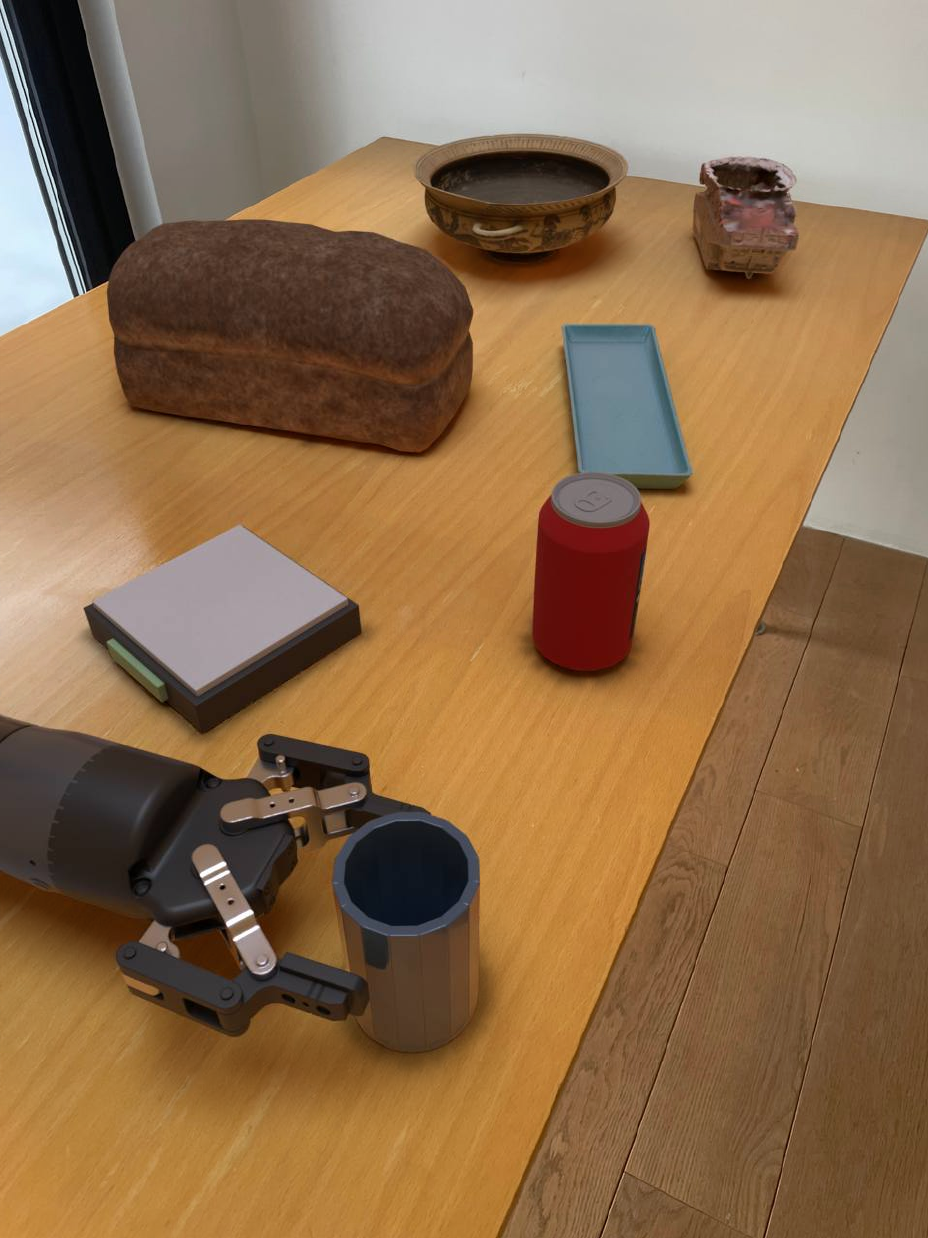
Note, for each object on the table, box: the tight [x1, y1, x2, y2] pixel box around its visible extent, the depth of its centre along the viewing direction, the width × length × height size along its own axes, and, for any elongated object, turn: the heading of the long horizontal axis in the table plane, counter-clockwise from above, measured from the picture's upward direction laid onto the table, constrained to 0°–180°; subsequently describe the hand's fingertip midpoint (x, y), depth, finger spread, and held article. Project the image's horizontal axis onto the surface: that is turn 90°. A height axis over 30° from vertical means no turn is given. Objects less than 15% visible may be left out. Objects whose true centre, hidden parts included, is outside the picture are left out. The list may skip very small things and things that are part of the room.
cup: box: [331, 812, 481, 1054], centre depth 46 cm, size 6×6×10 cm
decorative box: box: [692, 155, 831, 280], centre depth 113 cm, size 13×20×10 cm, turn 171°
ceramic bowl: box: [412, 133, 629, 265], centre depth 116 cm, size 30×24×10 cm
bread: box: [106, 218, 474, 453], centre depth 88 cm, size 15×32×16 cm, turn 73°
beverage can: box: [531, 472, 650, 672], centre depth 64 cm, size 7×7×12 cm
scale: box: [83, 524, 362, 735], centre depth 68 cm, size 14×13×3 cm
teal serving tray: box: [561, 323, 694, 490], centre depth 90 cm, size 26×9×2 cm, turn 179°
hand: (404, 913), depth 45 cm, fingers open, 8 cm apart
